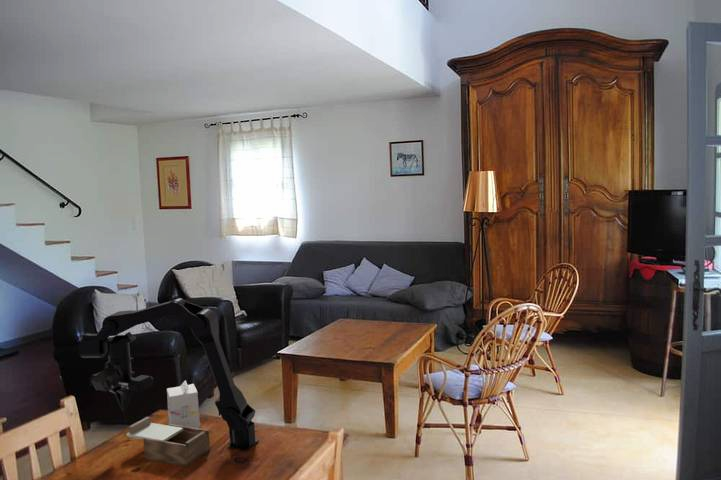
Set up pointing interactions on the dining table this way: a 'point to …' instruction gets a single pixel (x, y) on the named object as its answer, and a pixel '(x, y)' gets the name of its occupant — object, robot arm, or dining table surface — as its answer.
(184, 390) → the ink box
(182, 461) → the walnut box
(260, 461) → the dining table surface
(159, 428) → the lid
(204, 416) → the dining table surface
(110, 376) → the robot arm
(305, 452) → the dining table surface
